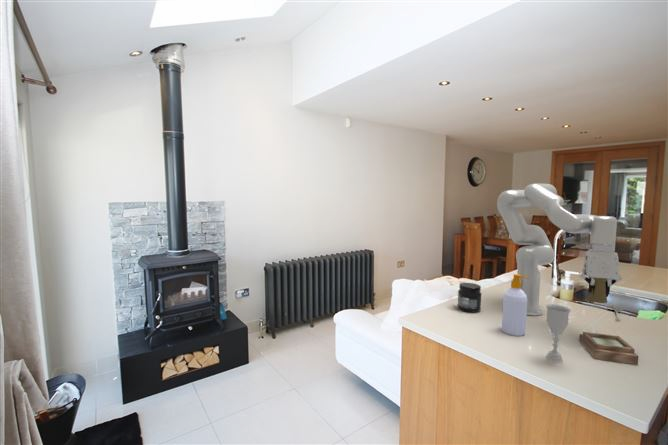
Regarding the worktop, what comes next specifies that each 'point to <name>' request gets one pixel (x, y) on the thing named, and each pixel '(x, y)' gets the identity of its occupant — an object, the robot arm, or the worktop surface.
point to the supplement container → (469, 297)
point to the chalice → (556, 327)
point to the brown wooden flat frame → (608, 348)
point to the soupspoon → (616, 311)
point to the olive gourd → (598, 291)
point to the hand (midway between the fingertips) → (598, 294)
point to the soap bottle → (514, 308)
